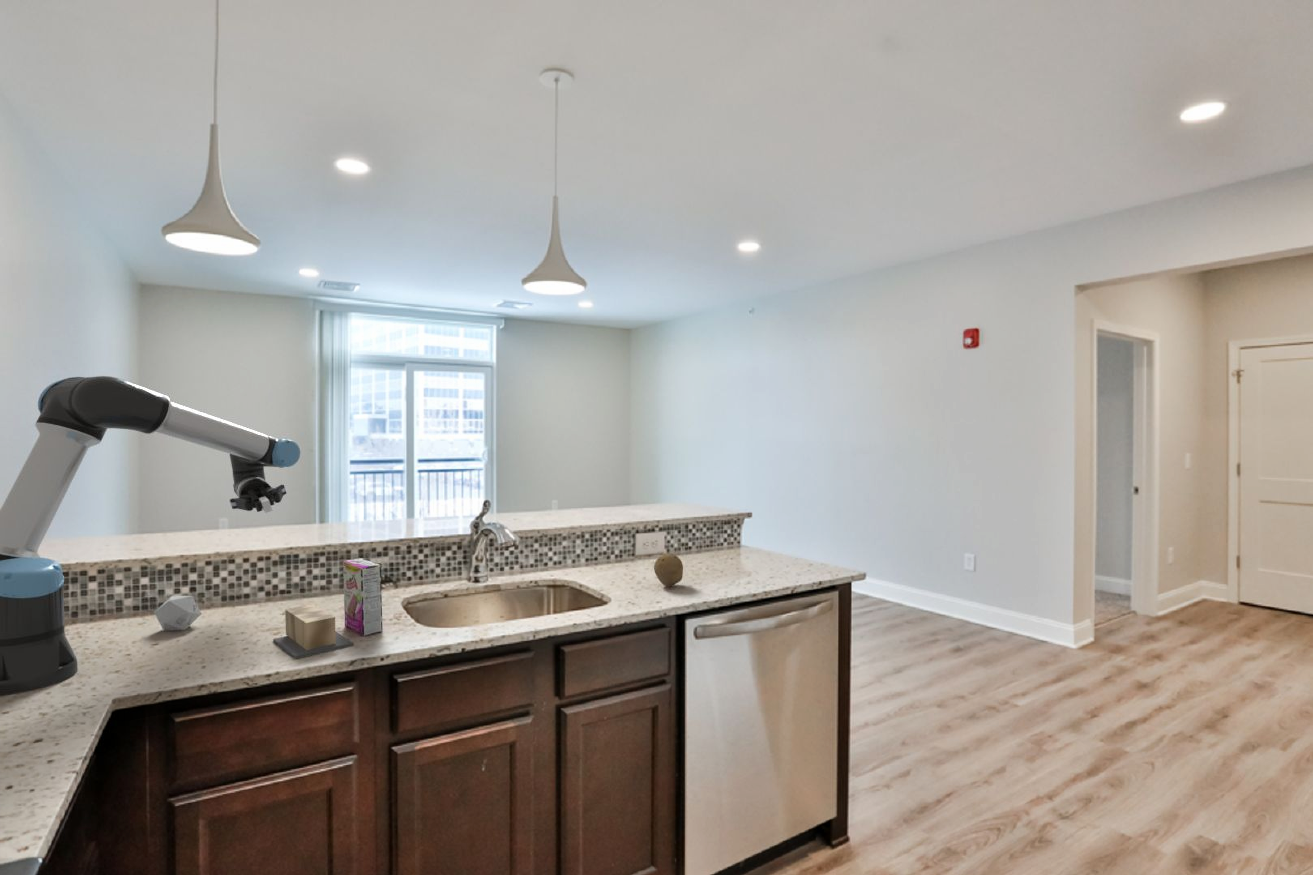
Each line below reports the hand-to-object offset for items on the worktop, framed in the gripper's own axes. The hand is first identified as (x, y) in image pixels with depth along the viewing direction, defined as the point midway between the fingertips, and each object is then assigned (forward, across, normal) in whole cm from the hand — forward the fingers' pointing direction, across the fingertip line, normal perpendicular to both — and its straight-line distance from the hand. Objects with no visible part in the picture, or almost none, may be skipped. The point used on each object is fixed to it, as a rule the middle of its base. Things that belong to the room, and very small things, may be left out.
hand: (267, 506), depth 158 cm
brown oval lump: (+30, -91, -53) cm, 109 cm away
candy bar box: (+16, -10, -33) cm, 38 cm away
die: (-14, +25, -26) cm, 39 cm away
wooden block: (+10, +2, -26) cm, 28 cm away
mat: (+19, +1, -30) cm, 35 cm away
